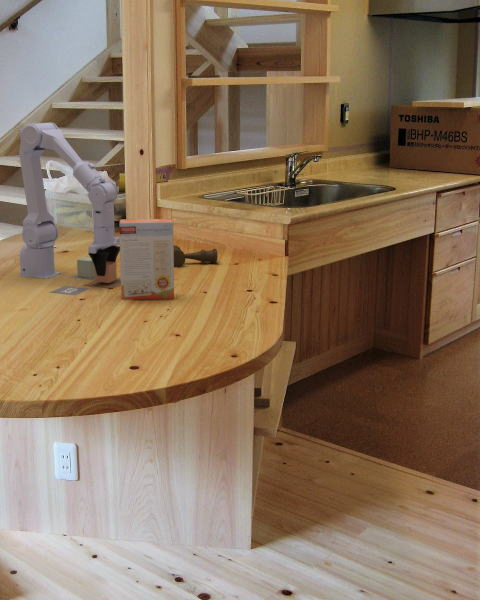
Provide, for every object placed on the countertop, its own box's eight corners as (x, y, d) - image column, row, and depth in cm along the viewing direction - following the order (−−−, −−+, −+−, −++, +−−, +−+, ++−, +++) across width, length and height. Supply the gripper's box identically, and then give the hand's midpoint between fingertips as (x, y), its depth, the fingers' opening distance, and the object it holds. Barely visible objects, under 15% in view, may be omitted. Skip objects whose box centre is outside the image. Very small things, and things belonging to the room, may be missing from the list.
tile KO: (49, 293, 213) (48, 292, 213) (64, 286, 221) (64, 285, 221) (74, 296, 211) (74, 295, 211) (90, 289, 218) (90, 288, 218)
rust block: (94, 281, 223) (94, 264, 221) (102, 277, 227) (102, 260, 225) (108, 282, 221) (108, 265, 220) (116, 279, 225) (116, 262, 224)
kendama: (219, 268, 249) (155, 268, 245) (214, 262, 258) (153, 262, 254) (219, 249, 247) (155, 249, 244) (215, 244, 257) (153, 243, 253)
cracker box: (173, 294, 215) (173, 217, 210) (174, 299, 210) (173, 221, 204) (121, 294, 214) (119, 218, 208) (120, 300, 208) (119, 221, 202)
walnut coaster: (83, 286, 222) (83, 285, 222) (99, 279, 230) (99, 278, 230) (112, 289, 219) (112, 288, 219) (127, 282, 227) (127, 280, 227)
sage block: (77, 276, 231) (76, 259, 230) (85, 273, 235) (84, 256, 234) (91, 278, 230) (90, 261, 228) (98, 274, 234) (98, 258, 233)
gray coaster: (69, 278, 230) (69, 277, 230) (83, 272, 238) (83, 271, 237) (93, 281, 228) (93, 279, 228) (107, 275, 235) (106, 273, 235)
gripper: (104, 231, 212) (105, 280, 216) (128, 223, 225) (129, 269, 229) (80, 229, 214) (82, 278, 218) (106, 221, 227) (108, 267, 231)
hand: (105, 273), depth 223 cm, fingers closed on rust block, 4 cm apart
